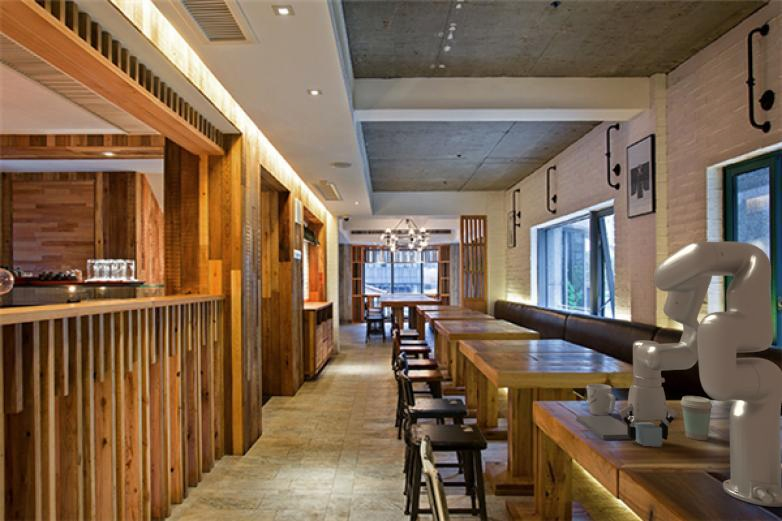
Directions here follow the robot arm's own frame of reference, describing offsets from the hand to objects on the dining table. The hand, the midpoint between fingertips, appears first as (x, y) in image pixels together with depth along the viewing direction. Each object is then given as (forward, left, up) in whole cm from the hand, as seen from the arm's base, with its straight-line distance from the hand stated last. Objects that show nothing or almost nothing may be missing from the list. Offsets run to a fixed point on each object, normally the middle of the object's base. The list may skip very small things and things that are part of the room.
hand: (647, 438), depth 150 cm
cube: (0, 0, -2) cm, 2 cm away
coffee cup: (+10, -16, -2) cm, 19 cm away
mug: (+29, +9, -2) cm, 30 cm away
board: (+11, +10, -1) cm, 15 cm away
